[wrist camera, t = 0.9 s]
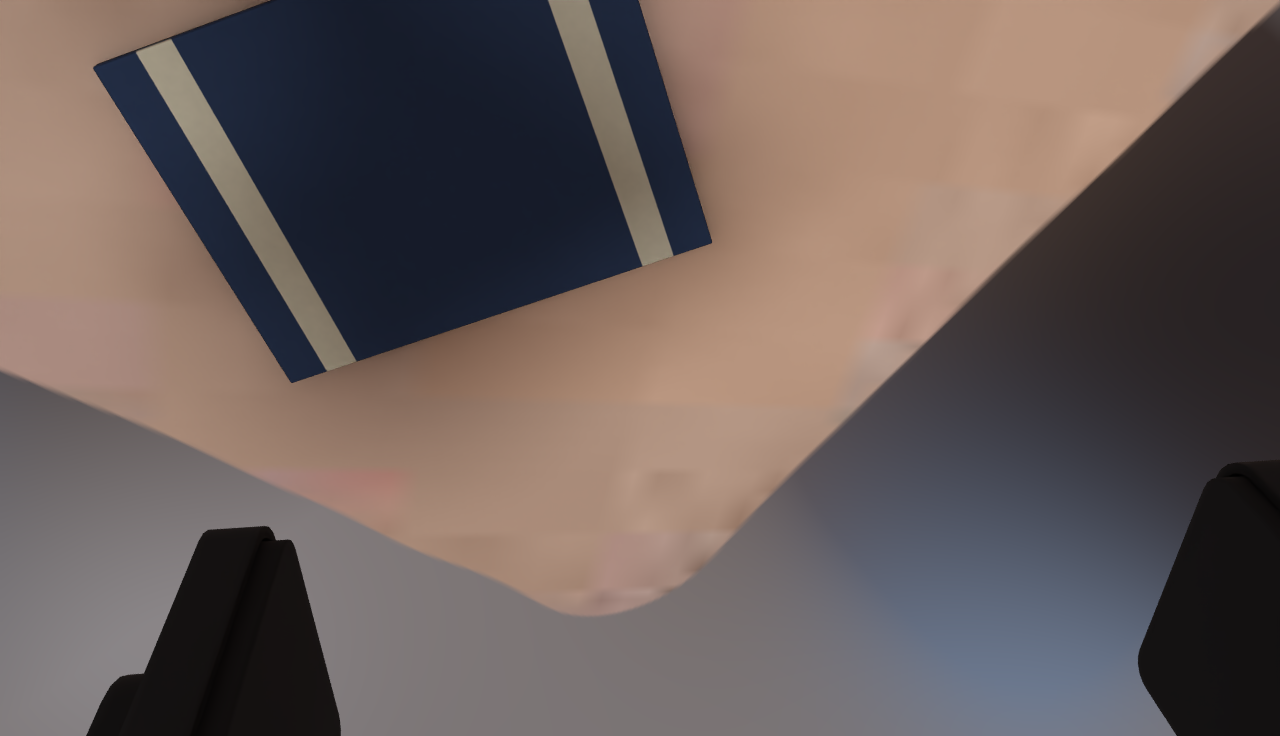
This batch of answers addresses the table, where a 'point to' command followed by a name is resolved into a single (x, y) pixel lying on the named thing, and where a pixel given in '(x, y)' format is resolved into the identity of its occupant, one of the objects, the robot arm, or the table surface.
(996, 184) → the table surface
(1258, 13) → the table surface
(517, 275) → the cloth
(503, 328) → the table surface
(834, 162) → the table surface
